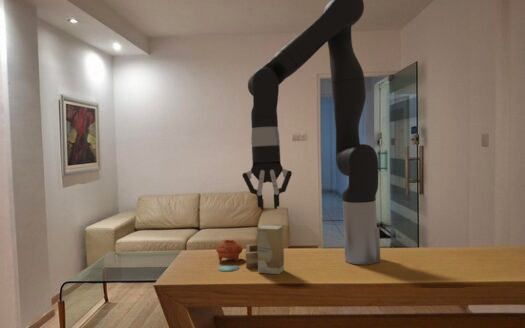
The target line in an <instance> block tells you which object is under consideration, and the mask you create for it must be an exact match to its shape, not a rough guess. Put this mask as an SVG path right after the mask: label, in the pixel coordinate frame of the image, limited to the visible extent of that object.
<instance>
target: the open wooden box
mask: <svg viewBox="0 0 525 328" xmlns="http://www.w3.org/2000/svg"><path fill="white" fill-rule="evenodd" d="M245 268H246V269H252V268H258V245H257V244H255V243H254V244H246V246H245Z"/></svg>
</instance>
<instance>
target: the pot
mask: <svg viewBox="0 0 525 328" xmlns="http://www.w3.org/2000/svg"><path fill="white" fill-rule="evenodd" d="M215 251H216V252H217V256H218V257H217V258H218V261H219V263H220V262H222V260H223V258H224V259H227V260H229V259H230V260H232V259H234V260H235V262H238V261H239V256H240V254H241V253H242V252H243V246H241V244H240V243H238V242H237V241H236V240H235V239H224V240H223V242H221V243H220V244H219V245H217V247H216V250H215Z"/></svg>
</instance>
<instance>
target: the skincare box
mask: <svg viewBox="0 0 525 328" xmlns="http://www.w3.org/2000/svg"><path fill="white" fill-rule="evenodd" d="M256 231H257V232H256V234H257V235H256V238H257V239H256V240H257V245H258V267H257V271H258V272H257V273H260V274H271V275H280V274H281V273H283V272H284V271H285V257H284V254H285V253H284V251H285V250H284V249H285V247H284V244H285V243H284V225H269V224H268V225H267V224H266V225H265V224H264V225H263V224H262V225H261V226H258V227H257V228H256Z"/></svg>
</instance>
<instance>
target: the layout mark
mask: <svg viewBox="0 0 525 328" xmlns="http://www.w3.org/2000/svg"><path fill="white" fill-rule="evenodd" d="M239 269H240V266H239V265H236V264H235V265H234V264H226V265H222V266H219V267H218V268H217V270H218V271H219V272H223V273H224V272H226V273H227V272H228V273H229V272H234V271H237V270H239Z"/></svg>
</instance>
